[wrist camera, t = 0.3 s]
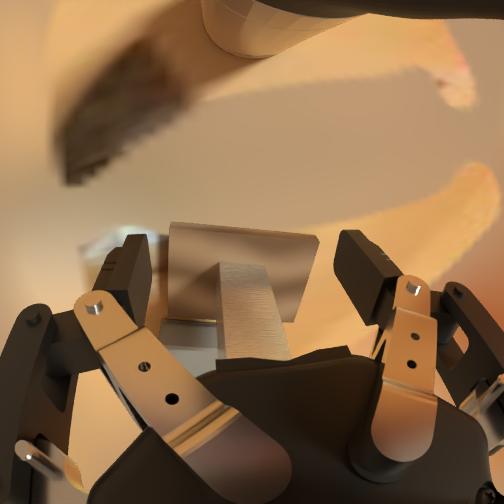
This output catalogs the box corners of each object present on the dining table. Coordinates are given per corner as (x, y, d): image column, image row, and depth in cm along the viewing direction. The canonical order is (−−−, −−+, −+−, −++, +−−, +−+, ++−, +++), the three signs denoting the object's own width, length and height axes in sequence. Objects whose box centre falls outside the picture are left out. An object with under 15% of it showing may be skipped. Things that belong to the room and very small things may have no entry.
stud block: (171, 221, 30) (164, 248, 26) (315, 235, 34) (332, 262, 29) (169, 308, 36) (165, 340, 32) (290, 314, 39) (300, 345, 35)
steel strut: (219, 261, 32) (227, 367, 20) (265, 265, 33) (294, 367, 21) (214, 297, 34) (220, 402, 22) (257, 300, 35) (278, 401, 23)
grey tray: (161, 319, 37) (158, 344, 33) (266, 324, 40) (271, 349, 36) (165, 379, 44) (163, 402, 40) (249, 382, 47) (253, 404, 43)
